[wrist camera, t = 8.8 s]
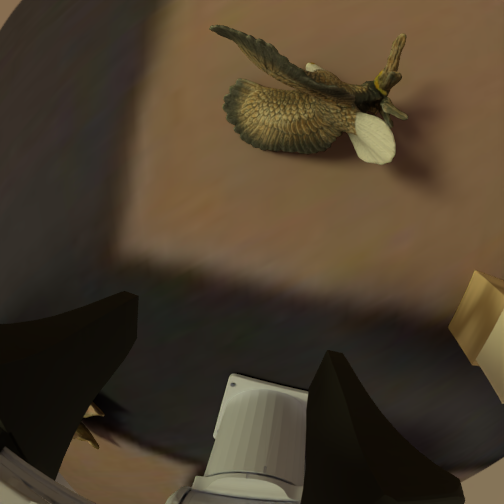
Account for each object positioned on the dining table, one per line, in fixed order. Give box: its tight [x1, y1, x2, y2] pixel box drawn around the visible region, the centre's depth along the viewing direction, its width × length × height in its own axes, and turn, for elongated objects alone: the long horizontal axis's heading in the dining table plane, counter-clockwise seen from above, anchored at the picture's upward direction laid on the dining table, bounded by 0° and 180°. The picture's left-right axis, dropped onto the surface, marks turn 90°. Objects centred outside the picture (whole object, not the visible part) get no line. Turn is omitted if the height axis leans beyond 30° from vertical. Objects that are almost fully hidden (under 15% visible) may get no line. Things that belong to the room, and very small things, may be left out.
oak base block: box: [448, 270, 504, 366], centre depth 17 cm, size 5×5×5 cm
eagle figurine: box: [209, 25, 408, 165], centre depth 14 cm, size 8×8×10 cm
